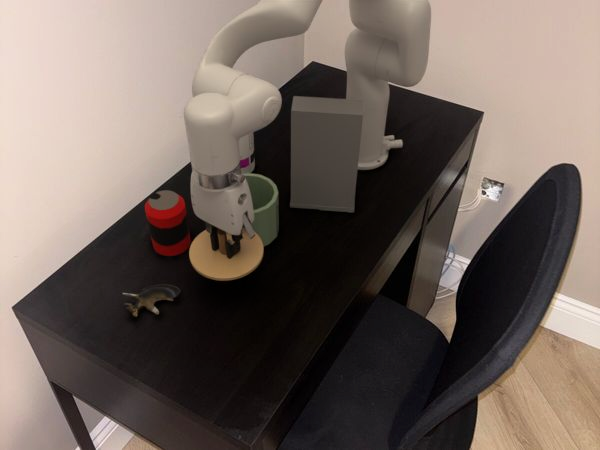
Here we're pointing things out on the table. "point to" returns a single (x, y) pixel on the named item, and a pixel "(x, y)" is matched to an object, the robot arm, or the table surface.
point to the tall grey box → (325, 152)
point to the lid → (225, 257)
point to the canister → (264, 207)
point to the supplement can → (247, 153)
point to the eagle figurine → (151, 297)
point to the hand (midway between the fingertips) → (226, 249)
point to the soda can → (168, 223)
